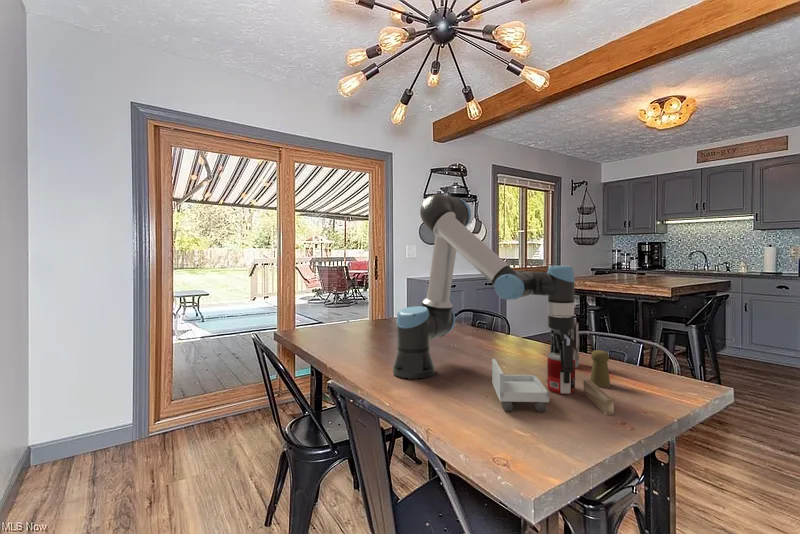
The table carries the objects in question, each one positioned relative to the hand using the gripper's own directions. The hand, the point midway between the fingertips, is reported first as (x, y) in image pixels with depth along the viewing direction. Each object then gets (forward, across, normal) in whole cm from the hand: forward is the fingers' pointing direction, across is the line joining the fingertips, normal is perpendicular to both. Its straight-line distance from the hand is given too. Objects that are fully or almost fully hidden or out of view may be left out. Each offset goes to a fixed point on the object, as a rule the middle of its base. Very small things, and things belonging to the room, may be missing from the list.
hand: (561, 388), depth 124 cm
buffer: (+1, -10, -7) cm, 12 cm away
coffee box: (+1, +28, -10) cm, 30 cm away
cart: (+1, -10, +15) cm, 18 cm away
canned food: (+1, 0, 0) cm, 1 cm away
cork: (+1, +6, -14) cm, 15 cm away
